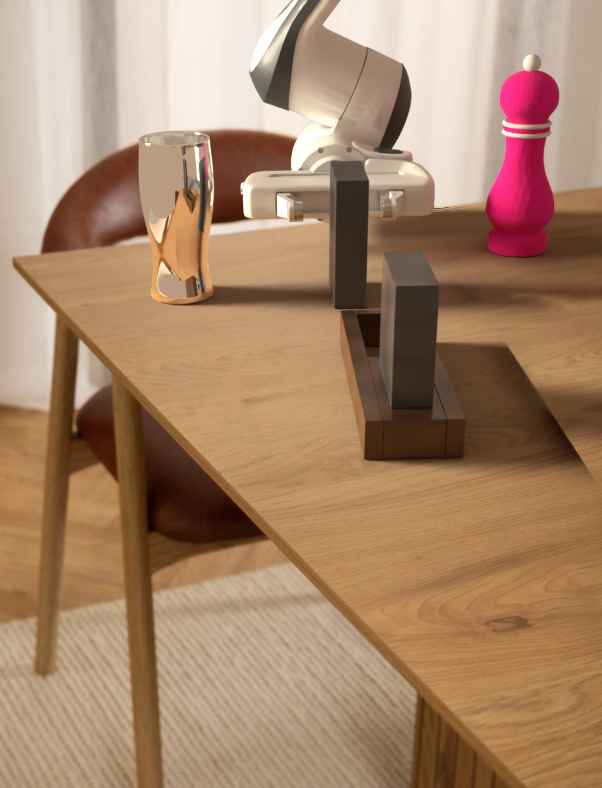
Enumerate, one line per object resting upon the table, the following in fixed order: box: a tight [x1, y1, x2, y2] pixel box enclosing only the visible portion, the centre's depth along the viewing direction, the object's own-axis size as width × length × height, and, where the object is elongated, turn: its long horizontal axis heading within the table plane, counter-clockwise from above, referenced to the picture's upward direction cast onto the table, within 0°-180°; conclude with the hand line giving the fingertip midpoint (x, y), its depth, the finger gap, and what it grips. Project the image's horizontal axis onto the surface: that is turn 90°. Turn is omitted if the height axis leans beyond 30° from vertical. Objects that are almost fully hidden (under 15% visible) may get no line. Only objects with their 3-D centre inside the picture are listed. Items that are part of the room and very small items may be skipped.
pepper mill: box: [484, 53, 560, 258], centre depth 123 cm, size 7×7×20 cm
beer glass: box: [138, 130, 215, 305], centre depth 112 cm, size 7×7×15 cm
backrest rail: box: [339, 250, 466, 460], centre depth 91 cm, size 23×7×12 cm, turn 2°
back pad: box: [328, 161, 369, 309], centre depth 112 cm, size 8×3×12 cm, turn 2°
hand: (343, 213), depth 119 cm, fingers open, 8 cm apart
